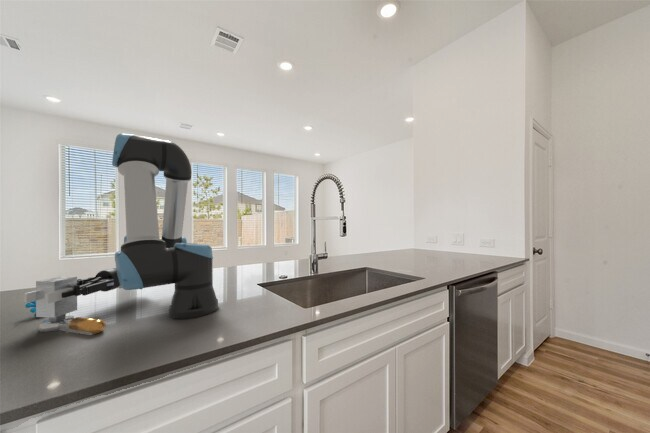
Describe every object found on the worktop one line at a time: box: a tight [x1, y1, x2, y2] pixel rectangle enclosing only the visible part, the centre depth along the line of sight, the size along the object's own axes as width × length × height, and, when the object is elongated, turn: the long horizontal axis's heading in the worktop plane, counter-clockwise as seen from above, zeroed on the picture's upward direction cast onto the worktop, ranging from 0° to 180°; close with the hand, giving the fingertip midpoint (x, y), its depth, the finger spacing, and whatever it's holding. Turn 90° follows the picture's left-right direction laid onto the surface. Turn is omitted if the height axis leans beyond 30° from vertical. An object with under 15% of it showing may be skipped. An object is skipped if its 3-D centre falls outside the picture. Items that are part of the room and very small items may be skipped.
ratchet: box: [39, 314, 107, 336], centre depth 74 cm, size 22×7×5 cm, turn 74°
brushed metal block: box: [35, 276, 78, 318], centre depth 76 cm, size 6×6×10 cm
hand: (36, 298), depth 71 cm, fingers closed on brushed metal block, 6 cm apart
